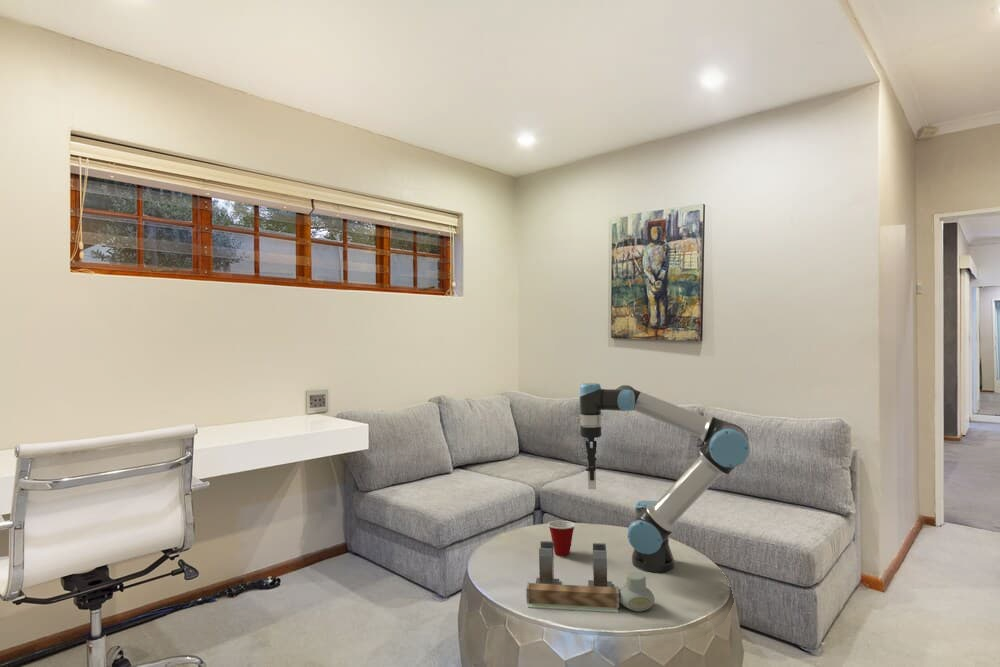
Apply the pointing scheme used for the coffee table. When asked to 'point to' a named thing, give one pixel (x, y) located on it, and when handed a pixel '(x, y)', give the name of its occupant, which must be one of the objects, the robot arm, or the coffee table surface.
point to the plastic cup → (561, 536)
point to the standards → (548, 565)
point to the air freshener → (636, 593)
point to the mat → (573, 607)
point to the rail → (573, 595)
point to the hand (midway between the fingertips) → (591, 483)
